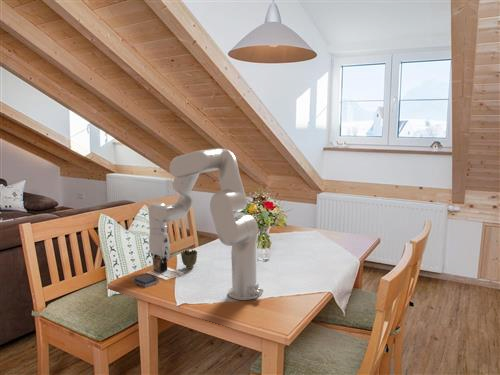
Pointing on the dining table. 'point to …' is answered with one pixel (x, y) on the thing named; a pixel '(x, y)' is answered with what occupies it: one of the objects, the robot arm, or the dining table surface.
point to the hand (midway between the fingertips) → (160, 268)
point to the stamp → (157, 264)
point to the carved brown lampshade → (189, 258)
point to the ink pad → (145, 280)
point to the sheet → (166, 273)
